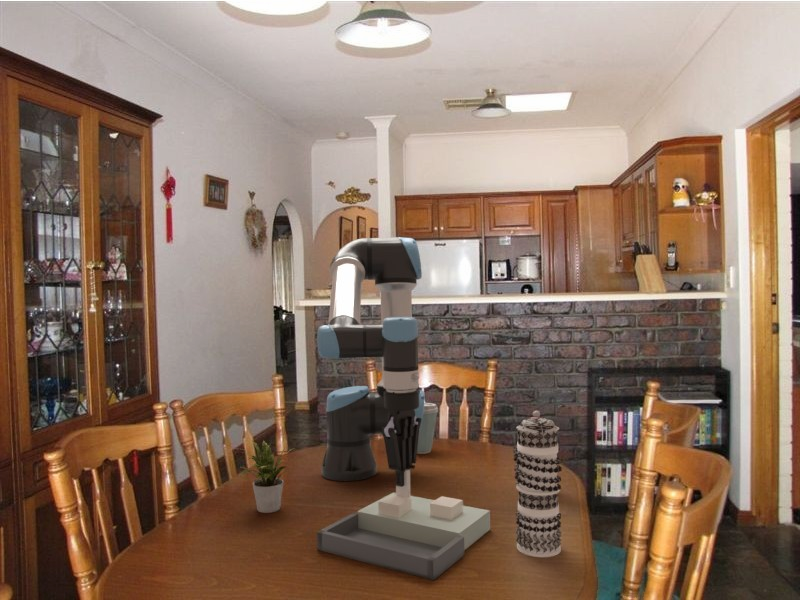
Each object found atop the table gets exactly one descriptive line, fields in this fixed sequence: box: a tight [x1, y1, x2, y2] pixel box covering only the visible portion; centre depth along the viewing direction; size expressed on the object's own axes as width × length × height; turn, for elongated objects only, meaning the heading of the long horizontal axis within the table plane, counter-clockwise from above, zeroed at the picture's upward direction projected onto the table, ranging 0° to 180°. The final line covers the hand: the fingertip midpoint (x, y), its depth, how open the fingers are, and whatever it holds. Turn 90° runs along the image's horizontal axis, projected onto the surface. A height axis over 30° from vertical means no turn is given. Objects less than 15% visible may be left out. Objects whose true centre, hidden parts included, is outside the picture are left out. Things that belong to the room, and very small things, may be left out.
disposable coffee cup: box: [417, 402, 439, 455], centre depth 198 cm, size 11×11×15 cm
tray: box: [316, 512, 465, 581], centre depth 124 cm, size 26×12×4 cm, turn 58°
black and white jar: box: [512, 416, 563, 558], centre depth 125 cm, size 9×9×25 cm
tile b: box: [430, 495, 464, 520], centre depth 133 cm, size 5×5×2 cm
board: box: [356, 491, 491, 551], centre depth 135 cm, size 24×14×4 cm, turn 58°
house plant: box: [235, 439, 295, 514], centre depth 150 cm, size 14×14×16 cm
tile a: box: [377, 495, 412, 518], centre depth 135 cm, size 5×5×2 cm
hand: (403, 499), depth 138 cm, fingers closed
